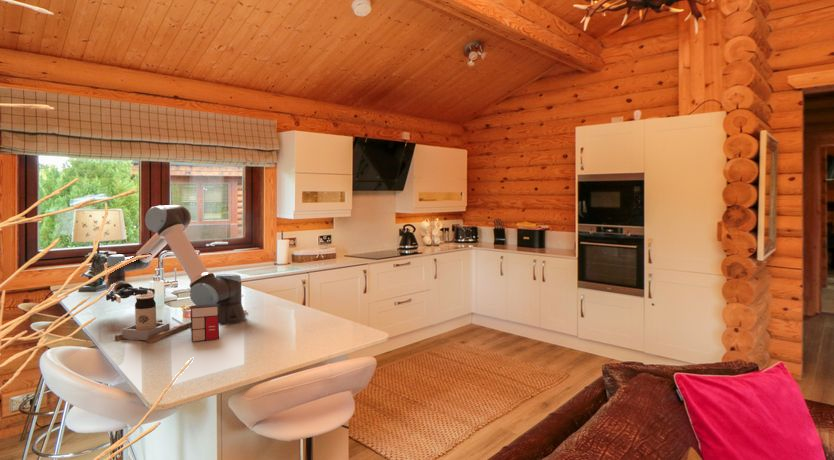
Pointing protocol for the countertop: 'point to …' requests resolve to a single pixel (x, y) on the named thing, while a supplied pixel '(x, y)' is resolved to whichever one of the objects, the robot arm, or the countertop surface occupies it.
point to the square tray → (143, 331)
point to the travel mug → (145, 312)
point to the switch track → (161, 334)
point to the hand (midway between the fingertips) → (136, 297)
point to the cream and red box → (204, 322)
